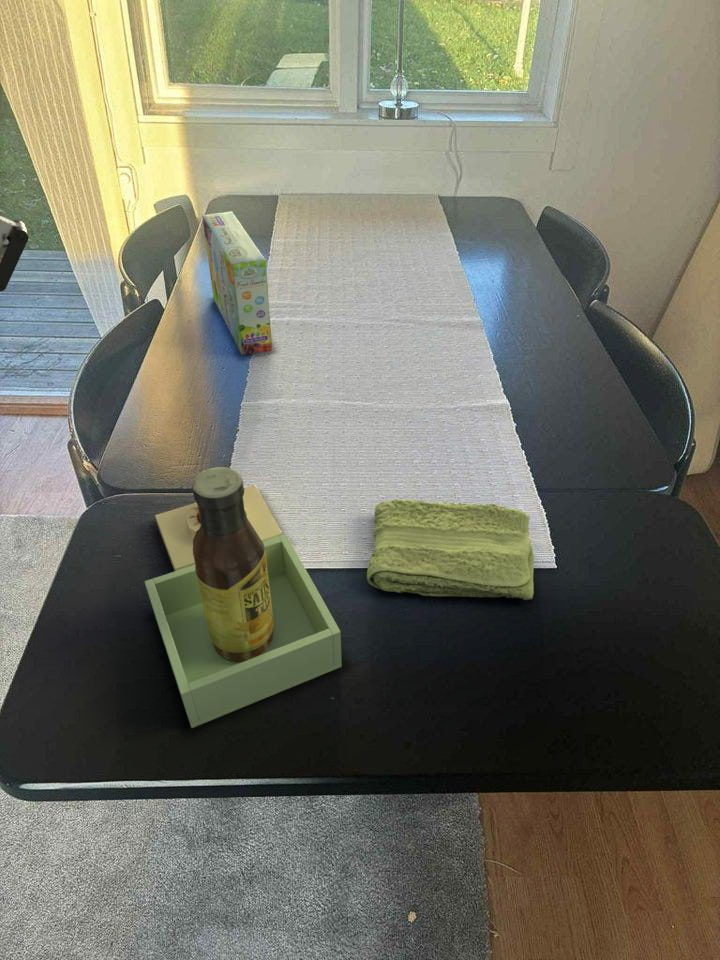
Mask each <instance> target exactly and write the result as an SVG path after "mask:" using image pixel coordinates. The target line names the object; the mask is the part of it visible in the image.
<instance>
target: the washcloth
mask: <svg viewBox="0 0 720 960" xmlns="http://www.w3.org/2000/svg"><path fill="white" fill-rule="evenodd" d="M530 515H531V514H530V513H526V512H524V511H522V510H521V509H519V508H518V509H517V508H510V507H506V506H502V505H497V504H493V503H490V504H489V503H486V504H482V503H480V504H477V503H473V504H472V503H462V502H458V503H454V502H449V503H447V502H436V501H433V502H430V501H427V500H423V499H419V500H415V499H410V500H406V499H405V500H402V499H393V500H385V501H380V502H379V503H377V504H376V505H375V509H374V519H373V521H374V528H373V535H372V537H374V538H375V540H374V550H373V552H372V553H371V556H370V560H369V562H368V568H367V571H366V579H367V583H368V584H370V585H371V587H374V588H377V589H379V590H381V591H384V592H389V593H398V594H399V593H408V594H409V593H410V594H418V595H420V596H423V597H439V598H441V597H464V598H501V597H505V598H506V599H509V598H510V599H521V600H524V601H528V600H533V597H534V594H535V591H534V588H535V587H534V571H535V569H534V568H535V567H534V564H535V555H534V550H533V547H532V541H531V539H530V531H529V530H530V529H529V528H530V527H529V526H530V525H529V524H530V518H531V517H530Z"/></svg>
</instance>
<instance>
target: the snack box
mask: <svg viewBox="0 0 720 960" xmlns="http://www.w3.org/2000/svg"><path fill="white" fill-rule="evenodd" d="M201 217H202V224H203V230H204V238H205V246H206V252H207V259H208V267H209V275H210V282H211V289H212V290H211V291H212V298H213V301H214V303H215V304H216V307H217V309H218V311H219V313H220V314H221V317H222V318H223V320H224V322H225V324H226V326H227V328H228V330H229V332H230V334H231V336H232V339H233V340H234V342H235V344H236V346H237V348H238V350H239V352H240V354H241V356H246V355H253V354H254V355H255V354H259V353H267V352H271V351H273V344H272V330H271V315H270V314H271V313H270V300H269V285H268V273H267V260H266V259H265V257H264V256H263V253H261V251H260V250H259V249H258V247H257V246H256V245H255V243H254V241H253V240H252V238H251V237H250V235H249V233H247V231H246V230H245V228H244V227H243V226H242V224H241V222H240V221H239V219H238V218H237V216H236V215H235V214H234V212H233V211H231V210H230V211H225V212H216V213H215V212H214V213H209V214H202V216H201Z"/></svg>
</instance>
